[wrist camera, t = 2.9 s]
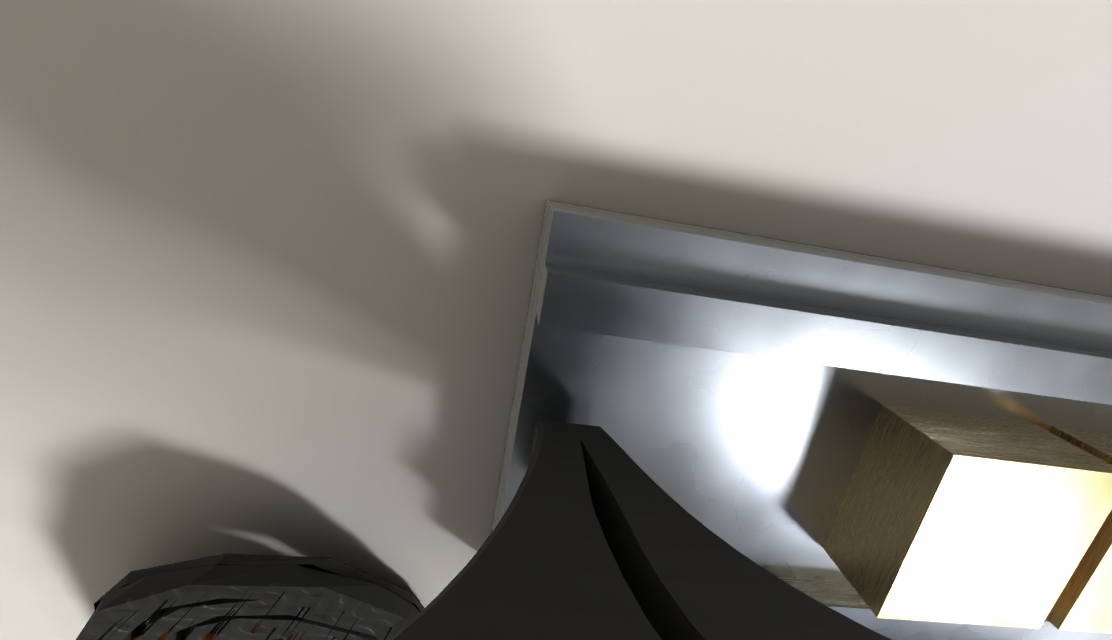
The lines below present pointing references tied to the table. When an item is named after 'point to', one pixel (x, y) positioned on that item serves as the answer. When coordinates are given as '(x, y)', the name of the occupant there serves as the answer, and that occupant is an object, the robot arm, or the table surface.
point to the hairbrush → (251, 602)
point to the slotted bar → (785, 375)
